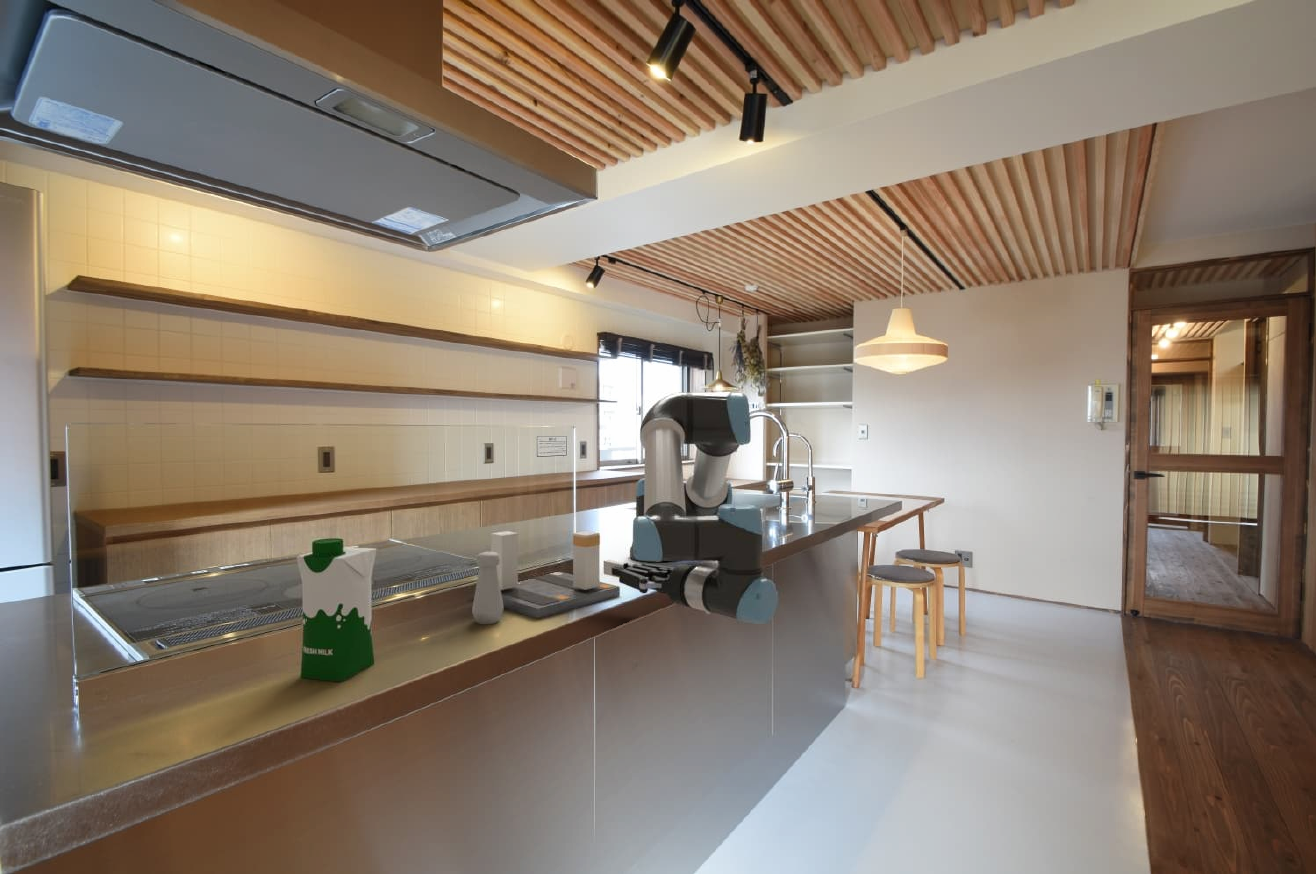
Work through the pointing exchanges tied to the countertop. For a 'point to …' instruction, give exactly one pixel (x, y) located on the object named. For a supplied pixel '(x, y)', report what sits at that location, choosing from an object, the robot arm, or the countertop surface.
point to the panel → (553, 595)
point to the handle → (586, 559)
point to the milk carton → (336, 610)
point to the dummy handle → (506, 558)
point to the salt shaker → (487, 590)
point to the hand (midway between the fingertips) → (606, 566)
